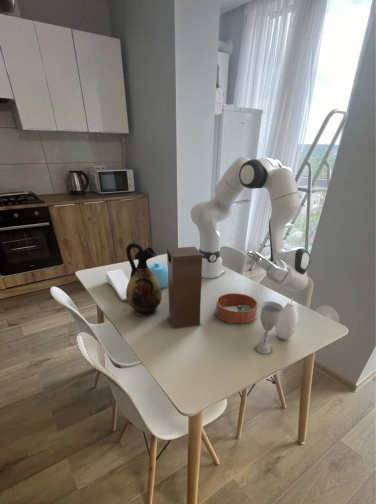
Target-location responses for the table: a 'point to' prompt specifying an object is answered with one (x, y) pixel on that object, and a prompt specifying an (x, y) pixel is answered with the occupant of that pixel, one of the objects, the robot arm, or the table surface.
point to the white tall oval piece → (287, 321)
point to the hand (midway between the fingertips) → (253, 256)
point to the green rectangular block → (239, 308)
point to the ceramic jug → (142, 282)
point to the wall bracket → (118, 282)
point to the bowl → (236, 300)
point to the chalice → (268, 322)
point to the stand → (184, 286)
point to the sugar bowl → (160, 274)
